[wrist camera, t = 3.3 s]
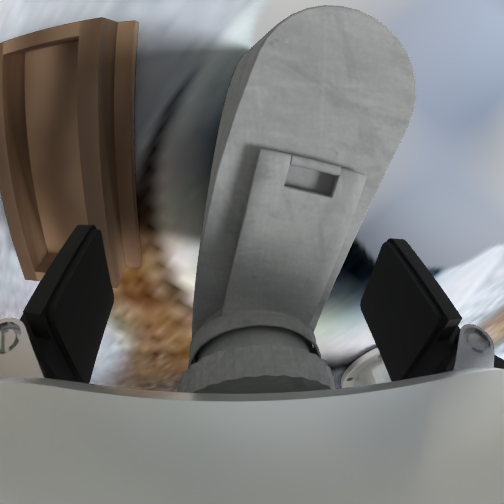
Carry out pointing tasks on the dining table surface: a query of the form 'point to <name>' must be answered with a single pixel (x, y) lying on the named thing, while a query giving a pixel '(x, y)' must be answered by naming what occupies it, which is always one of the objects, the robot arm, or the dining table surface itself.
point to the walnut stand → (70, 141)
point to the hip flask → (292, 195)
